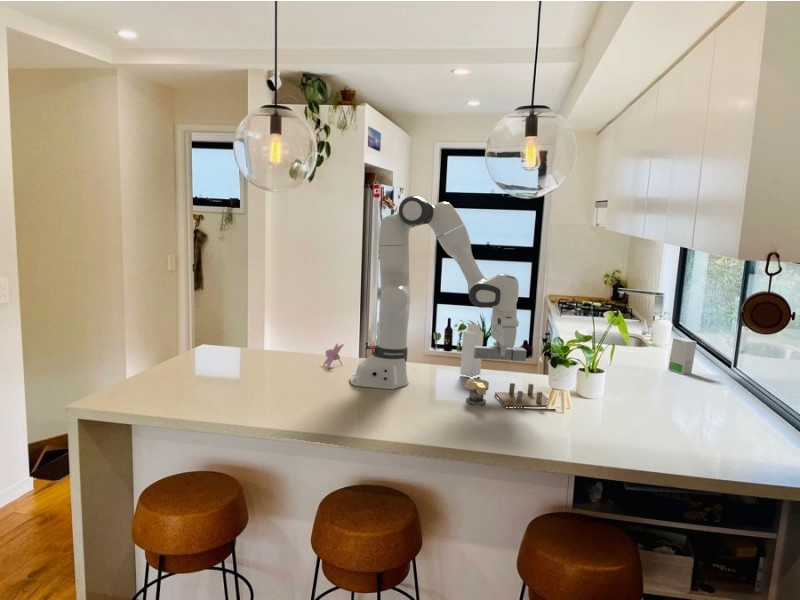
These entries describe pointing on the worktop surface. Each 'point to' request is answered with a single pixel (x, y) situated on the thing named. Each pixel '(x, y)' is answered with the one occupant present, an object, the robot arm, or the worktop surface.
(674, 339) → the skincare box
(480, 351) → the grey rectangular bar
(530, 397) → the peg rack
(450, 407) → the worktop surface
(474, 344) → the milk
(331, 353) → the lily
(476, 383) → the gold crumpled flat piece
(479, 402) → the post
